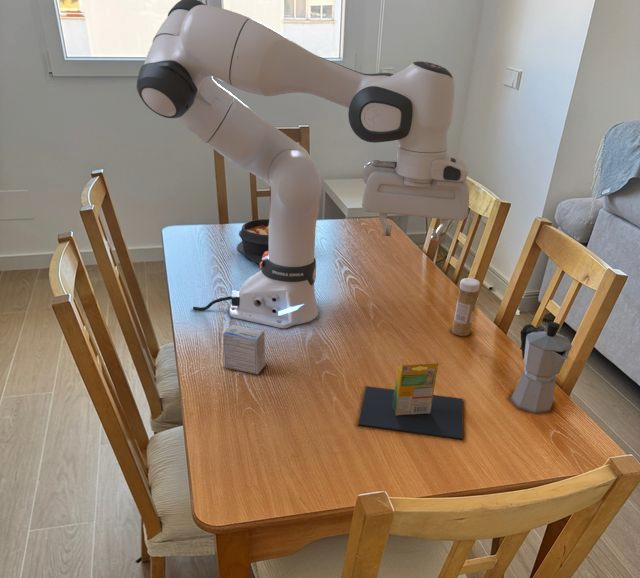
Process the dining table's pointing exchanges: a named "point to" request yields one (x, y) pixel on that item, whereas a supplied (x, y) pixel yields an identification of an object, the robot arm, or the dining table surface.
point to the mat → (412, 415)
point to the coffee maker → (540, 366)
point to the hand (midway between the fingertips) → (410, 237)
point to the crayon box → (414, 389)
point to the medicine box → (244, 349)
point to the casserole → (254, 239)
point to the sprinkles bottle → (465, 306)
